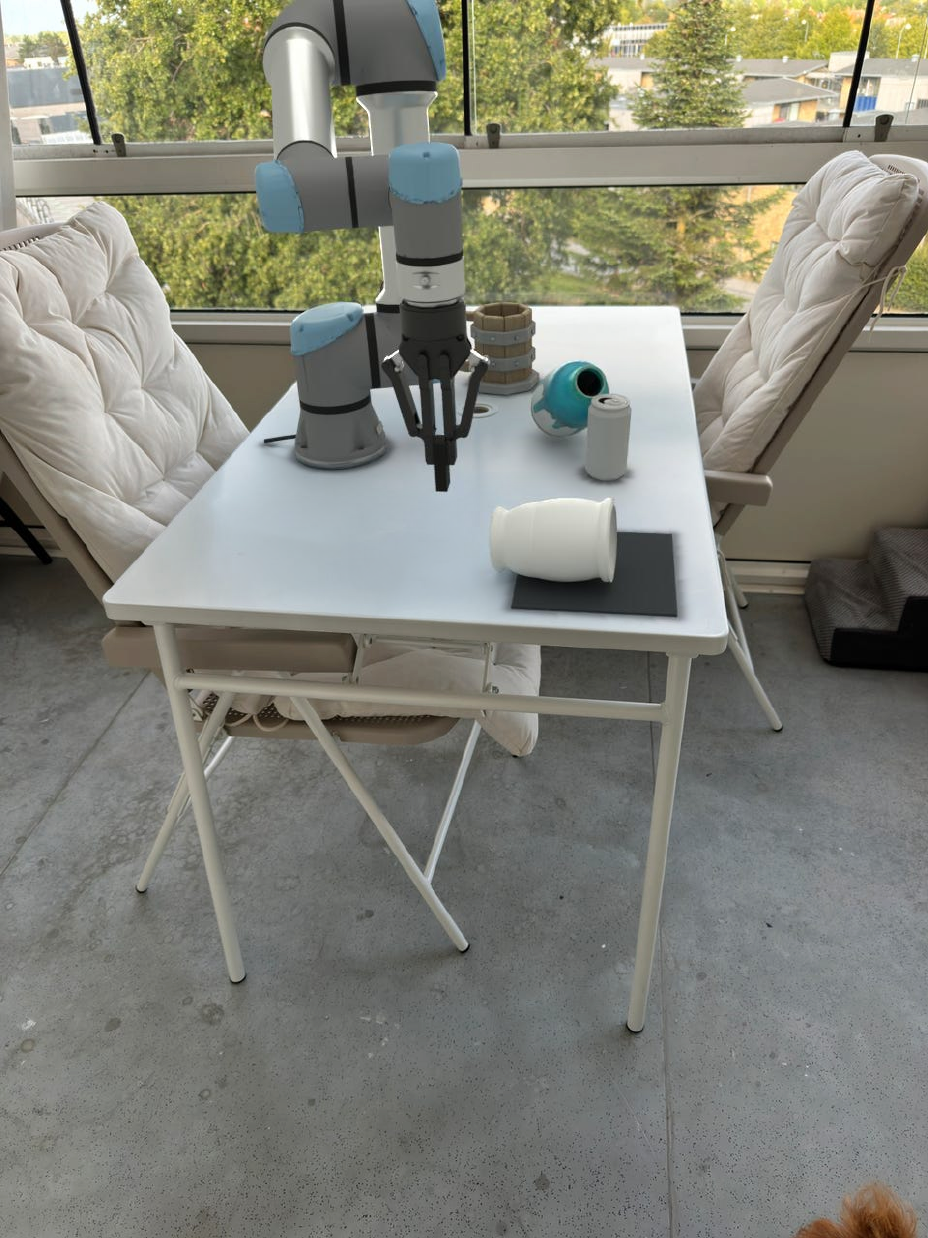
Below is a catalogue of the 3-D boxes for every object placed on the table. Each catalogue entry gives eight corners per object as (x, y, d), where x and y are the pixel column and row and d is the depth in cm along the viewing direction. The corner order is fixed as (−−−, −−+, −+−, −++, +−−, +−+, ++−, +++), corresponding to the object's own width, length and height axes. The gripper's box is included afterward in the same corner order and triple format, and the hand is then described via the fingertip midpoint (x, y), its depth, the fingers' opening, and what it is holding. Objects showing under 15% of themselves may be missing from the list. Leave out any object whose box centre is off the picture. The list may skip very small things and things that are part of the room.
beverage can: (599, 459, 149) (603, 388, 141) (634, 470, 145) (640, 398, 138) (576, 475, 145) (580, 402, 138) (612, 486, 141) (617, 412, 134)
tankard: (545, 374, 183) (545, 296, 174) (524, 397, 173) (524, 316, 165) (450, 366, 189) (446, 290, 181) (426, 387, 180) (420, 308, 171)
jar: (496, 596, 121) (612, 599, 117) (481, 545, 112) (606, 546, 109) (508, 534, 127) (619, 534, 123) (495, 481, 118) (613, 479, 114)
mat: (511, 608, 115) (511, 606, 115) (526, 530, 131) (526, 528, 131) (676, 616, 112) (677, 614, 112) (671, 535, 128) (671, 533, 128)
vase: (584, 383, 160) (625, 350, 141) (582, 445, 160) (623, 419, 141) (524, 378, 158) (557, 343, 139) (522, 440, 158) (556, 414, 139)
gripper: (368, 307, 103) (386, 499, 116) (485, 307, 101) (490, 502, 114) (382, 288, 109) (398, 472, 122) (493, 288, 107) (497, 475, 120)
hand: (443, 486), depth 118 cm, fingers closed
